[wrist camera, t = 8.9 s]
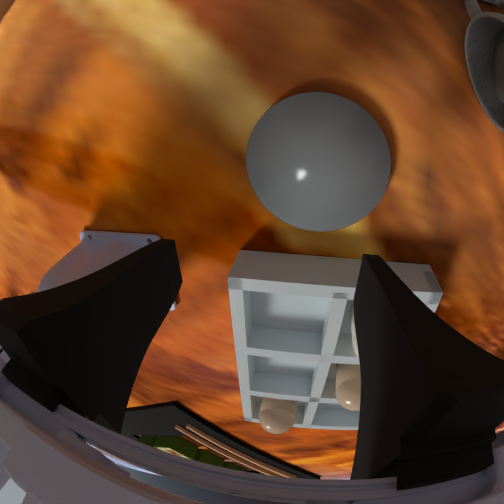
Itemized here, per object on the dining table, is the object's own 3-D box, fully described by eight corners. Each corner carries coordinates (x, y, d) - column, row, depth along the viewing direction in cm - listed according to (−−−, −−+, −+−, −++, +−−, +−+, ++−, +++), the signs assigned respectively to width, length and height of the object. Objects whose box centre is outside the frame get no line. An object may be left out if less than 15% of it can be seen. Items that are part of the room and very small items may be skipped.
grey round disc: (251, 220, 20) (248, 226, 19) (247, 91, 16) (243, 91, 15) (377, 230, 19) (380, 236, 18) (391, 100, 14) (396, 100, 13)
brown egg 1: (264, 399, 31) (256, 436, 27) (264, 382, 29) (254, 422, 24) (297, 402, 30) (292, 440, 26) (300, 386, 28) (295, 427, 24)
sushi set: (320, 473, 52) (318, 488, 48) (204, 475, 73) (200, 485, 70) (176, 397, 39) (167, 419, 36) (90, 409, 60) (84, 421, 57)
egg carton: (250, 397, 33) (244, 420, 30) (239, 249, 22) (227, 276, 19) (364, 406, 30) (365, 429, 27) (429, 264, 19) (443, 292, 16)
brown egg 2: (332, 373, 26) (330, 417, 22) (340, 348, 24) (340, 396, 20) (370, 374, 25) (372, 418, 21) (381, 350, 23) (386, 397, 19)
